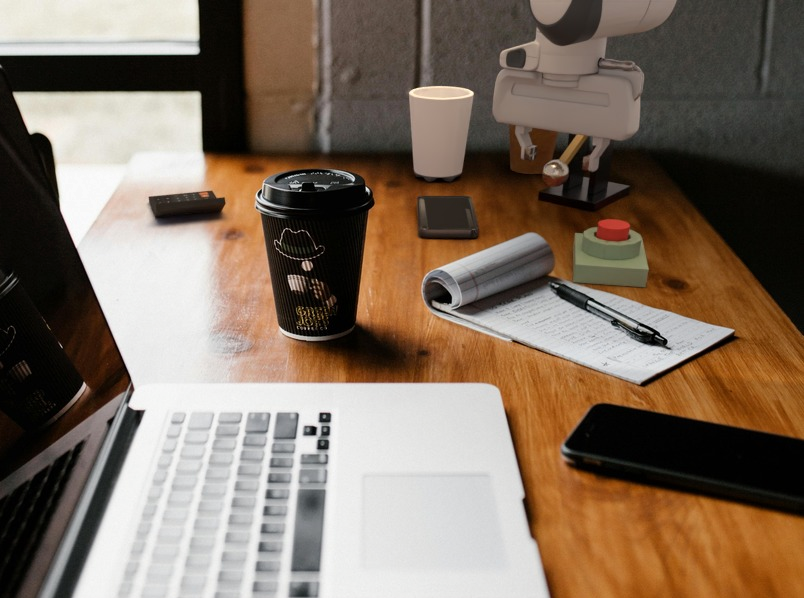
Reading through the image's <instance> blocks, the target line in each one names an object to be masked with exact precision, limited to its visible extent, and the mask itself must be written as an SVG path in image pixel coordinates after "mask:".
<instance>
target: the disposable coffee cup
mask: <svg viewBox="0 0 804 598" xmlns="http://www.w3.org/2000/svg"><path fill="white" fill-rule="evenodd" d="M515 128H516V125H511V124H508V133H509V135H508V136H509V164H510V170H511V171H513V172H515V173H518V174H526V175H540V174H541V175H542V170H543V168H544V166H545V165H546V164H547V163H548V162H549V161H551V160H553V156H554V153H555V148H556V144H557V139H558V135H559V132H557V131H551V130H544V129H537V128H532V131H531V132H528V133H529V136H530V139H531V142H532V145H535V146H537V151H536V154H537V156H536V158H535V159H534V160H532V161H529V160H523V159H521V148H522V147H521V146H520V144H519V141H518V139H517V137H516V134H515Z"/></svg>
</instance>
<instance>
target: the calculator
mask: <svg viewBox="0 0 804 598" xmlns="http://www.w3.org/2000/svg"><path fill="white" fill-rule="evenodd" d="M148 203H149V206H150V208H151V211H152V213H153V217H154V218H162V217H163V218H165V217H173V216H182V215H192V214H193V215H195V214H203V213H212V212H222V211H223V209H224V207H225V206H226V198H225V196H224V197H217V196H216V194H215V193H214V191H213V190H204V191H203V190H202V191H193V192H192V191H191V192H181V193H172V194H162V195H152V196H148Z"/></svg>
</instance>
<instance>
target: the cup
mask: <svg viewBox="0 0 804 598" xmlns="http://www.w3.org/2000/svg"><path fill="white" fill-rule="evenodd" d="M474 95H475V92H474V91H472V90H470V89H468V88H464V87H457V86H446V85H444V86H443V85H437V86H436V85H434V86H433V85H432V86H423V87H417V88H413V89H410V91H408V100H409V101H408V103H409V116H410V133H411V147H412V148H411V149H412V162H413V173H414V176H415V177H416V178H423V179H424V180H425V181H426V182H429V183H431V182H435V181H436V180H437V179H442V180H443V181H445V182H448V183H449V182H450V183H451V182H453V181H454V180H455V179H456V178H458V177H461V176H462V173H463V168H464V163H465V162H464V160H465V156H466V148H467V142H468V135H469V129H470V122H471V115H472V109H473V103H474Z"/></svg>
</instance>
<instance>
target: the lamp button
mask: <svg viewBox="0 0 804 598" xmlns="http://www.w3.org/2000/svg"><path fill="white" fill-rule="evenodd" d="M596 227H597V234H596V237H597V238H598V239H602V240H606V241H615V242H619V241H627V240H628V235H629V230H631V229H630V228H631V224H630V223H629V222H628V221H624V220H621V219H614V218H608V219H607V218H606V219H602V220H599V221H598V222H597V226H596Z"/></svg>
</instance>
